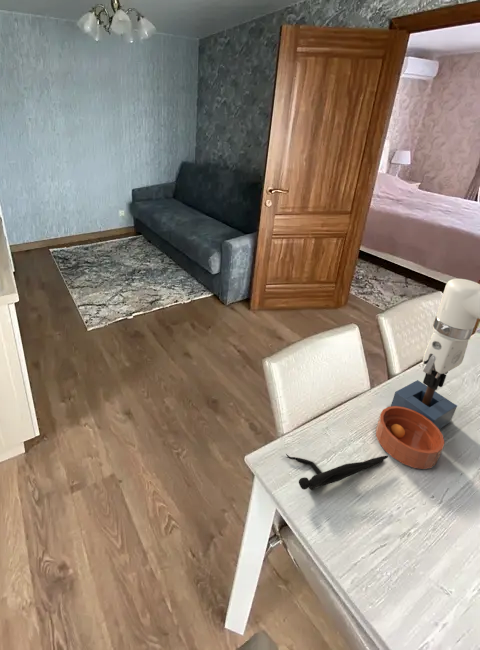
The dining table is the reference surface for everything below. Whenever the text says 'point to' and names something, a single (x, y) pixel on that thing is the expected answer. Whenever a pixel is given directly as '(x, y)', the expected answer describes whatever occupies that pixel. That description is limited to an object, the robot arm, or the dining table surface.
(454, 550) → the dining table surface
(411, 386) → the holder
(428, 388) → the stick
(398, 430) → the ball
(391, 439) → the bowl
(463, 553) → the dining table surface
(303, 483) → the dark humanoid figurine
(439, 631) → the dining table surface
